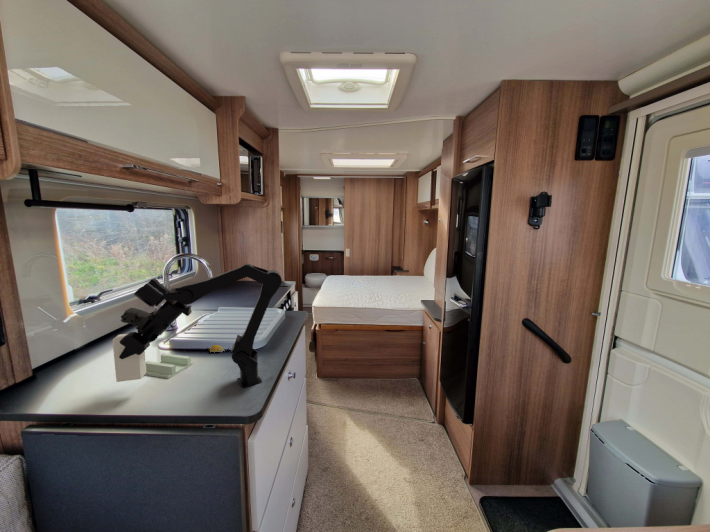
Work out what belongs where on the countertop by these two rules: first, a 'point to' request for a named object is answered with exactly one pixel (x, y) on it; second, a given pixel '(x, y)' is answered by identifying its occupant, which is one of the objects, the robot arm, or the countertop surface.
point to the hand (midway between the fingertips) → (124, 355)
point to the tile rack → (168, 366)
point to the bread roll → (216, 348)
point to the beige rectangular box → (127, 363)
